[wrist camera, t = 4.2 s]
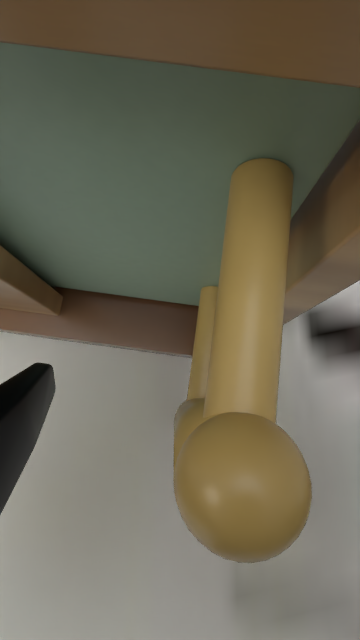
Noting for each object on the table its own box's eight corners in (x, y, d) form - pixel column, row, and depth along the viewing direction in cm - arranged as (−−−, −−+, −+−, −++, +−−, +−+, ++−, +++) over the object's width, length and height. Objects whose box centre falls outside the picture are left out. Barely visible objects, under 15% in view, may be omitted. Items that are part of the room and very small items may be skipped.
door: (214, 440, 14) (397, 679, 3) (11, 412, 14) (-702, 518, 3) (232, 282, 16) (397, -23, 4) (47, 257, 16) (-310, -111, 4)
